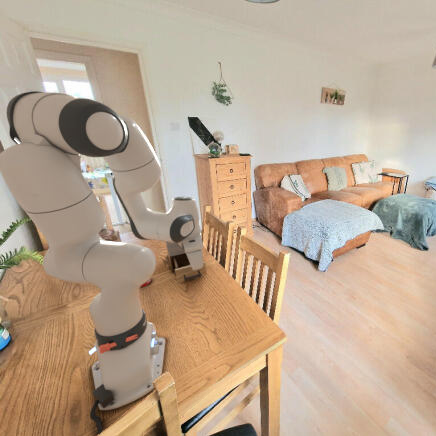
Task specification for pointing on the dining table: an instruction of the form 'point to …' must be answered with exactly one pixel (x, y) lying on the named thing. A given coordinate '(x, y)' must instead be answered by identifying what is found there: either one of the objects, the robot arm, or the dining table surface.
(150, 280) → the brown post red base
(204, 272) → the drawer
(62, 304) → the dining table surface
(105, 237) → the decorative jar
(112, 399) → the robot arm
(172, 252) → the cabinet
